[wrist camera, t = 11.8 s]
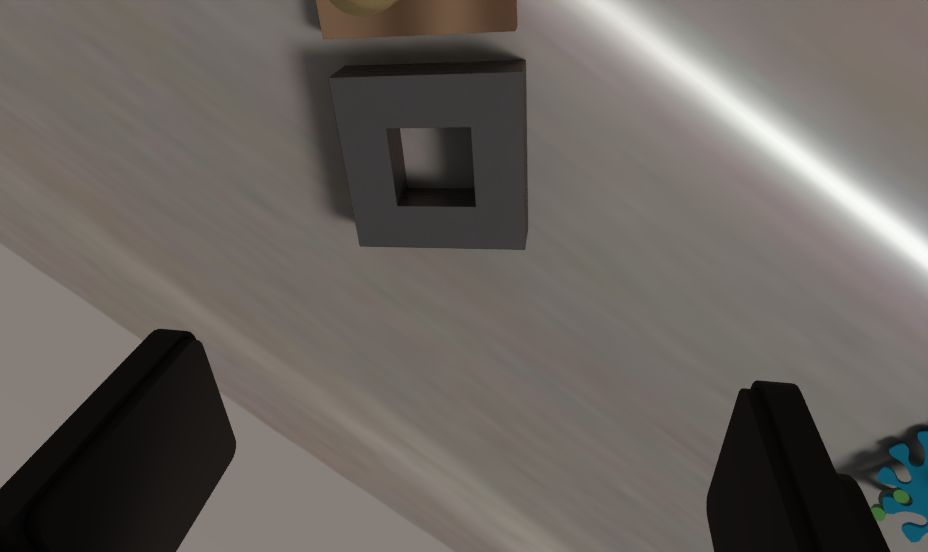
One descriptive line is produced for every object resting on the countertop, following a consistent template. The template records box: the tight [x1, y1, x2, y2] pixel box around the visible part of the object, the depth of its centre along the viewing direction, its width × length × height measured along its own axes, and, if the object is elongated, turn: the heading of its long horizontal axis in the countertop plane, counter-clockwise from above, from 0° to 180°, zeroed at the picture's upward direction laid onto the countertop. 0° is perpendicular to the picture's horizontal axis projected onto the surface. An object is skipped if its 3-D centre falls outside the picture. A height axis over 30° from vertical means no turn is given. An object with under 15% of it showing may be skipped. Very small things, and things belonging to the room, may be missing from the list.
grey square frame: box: [328, 60, 528, 250], centre depth 40 cm, size 12×12×3 cm
